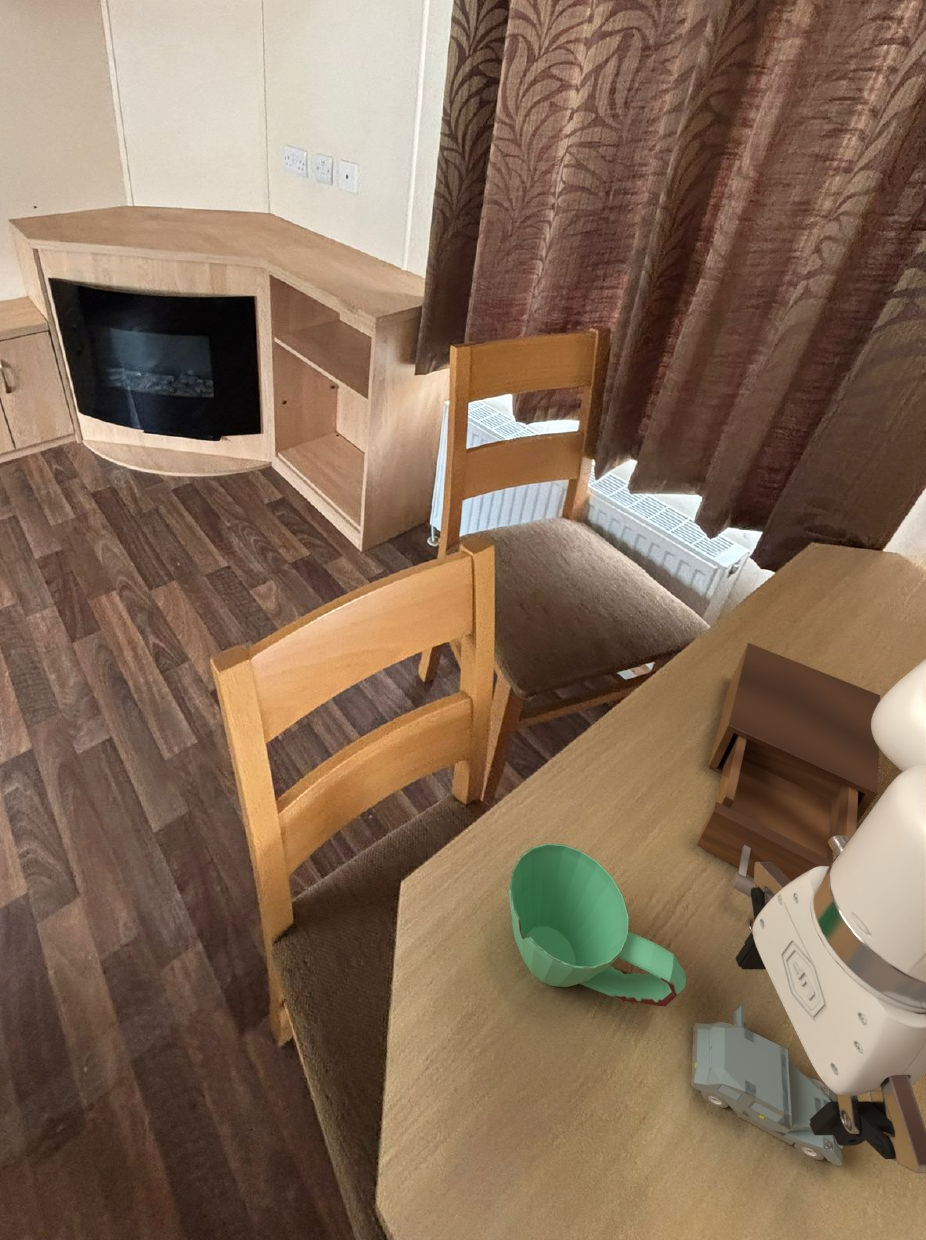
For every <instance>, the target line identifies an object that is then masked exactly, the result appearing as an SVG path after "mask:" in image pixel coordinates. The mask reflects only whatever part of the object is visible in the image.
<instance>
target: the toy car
mask: <svg viewBox="0 0 926 1240" xmlns="http://www.w3.org/2000/svg"><path fill="white" fill-rule="evenodd" d="M744 1008H745V1006H744V1003H743V1002H740V1004H739V1005H738V1007H737V1008H736V1009H735V1011H734V1012H733V1014H732V1015H733V1017H732V1018H733V1023H732V1024H731V1023H728V1022H724V1021H717V1022H712V1023H703V1022H702V1023H701V1022H695V1023H694V1024H693V1026H692V1027H693V1028H692V1050H691V1051H692V1055H691V1081H690V1082H691V1083H690V1087H692V1088H694V1089H696V1090H697V1091H700V1095H701V1096H702V1098H703V1099H704V1100H705V1101H707V1102H708V1103H710V1104H711V1105H713V1106H715V1107H718V1108H721V1109H727V1108H728V1107H730V1108H731V1109H732V1111H733V1112H734V1113H735V1115H736V1116H737V1117H738V1118H740V1119H743V1120H744V1121H746V1122H748V1123H750V1124H751V1125H754V1126H755V1127H757V1128H759V1129H761V1130H762V1131H764V1132H766V1133H768V1134H770V1135H771V1136H773V1137H775V1138H777V1139H778V1140H781V1141H782V1142H784V1143H786V1144H788V1145H790V1146H792V1145H793V1147H794V1148H795V1149H796V1150H797V1151H798V1152H799V1153H801V1154H803V1155H805V1156H807V1157H808V1158H810V1159H813V1160H818V1161H822V1160H824V1159H826V1160H827V1161H828V1162H830V1163H831V1164H834V1165H835V1166H837V1167H840V1166H842V1165H843V1164H844V1163H843V1154H842V1150H844V1149H843V1148H844V1146H840V1145H838V1144H837V1142H836V1139H835V1137H834V1135H814V1133H813V1131H812V1129H811V1127H810V1123H811V1122H810V1119H811V1118H812V1117H813V1116H814V1115H815V1114H816V1113H817V1112H818V1111H819V1110H820V1109H821V1108H823V1107H824V1106H825V1105H826V1104H827V1103H828V1102H832V1101H837V1094H835V1093H834V1092H833V1091H832V1090H830V1089H829V1088H828V1086H827V1085H826V1084H825V1083H824V1082H823V1081H820V1080H818V1079H815V1078H813V1077H809V1076H806V1075H805V1074H804V1073H802V1071H801V1070H800V1069H798V1067H797V1066H796V1065H794V1063H793V1062H791V1060H789V1051H788V1050H789V1049H788V1048H786V1047H783V1046H781V1045H779V1044H777V1043H776V1042H773V1041H771V1040H769V1039H767V1038H765V1037H764V1036H762V1035H760V1034H757V1033H755V1032H754V1031H751V1030H750V1029H748V1028H747V1024H746V1022H745V1009H744Z"/></svg>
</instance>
